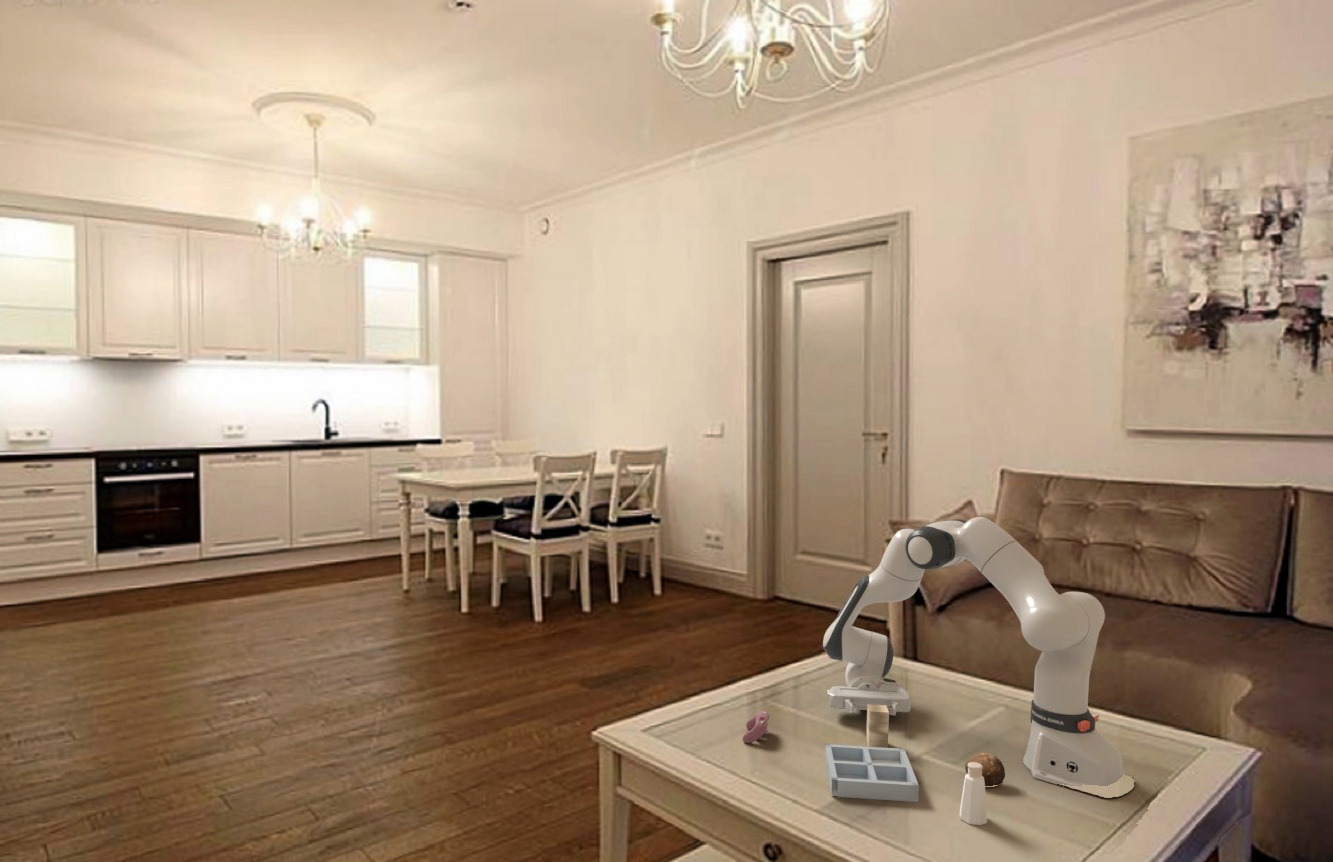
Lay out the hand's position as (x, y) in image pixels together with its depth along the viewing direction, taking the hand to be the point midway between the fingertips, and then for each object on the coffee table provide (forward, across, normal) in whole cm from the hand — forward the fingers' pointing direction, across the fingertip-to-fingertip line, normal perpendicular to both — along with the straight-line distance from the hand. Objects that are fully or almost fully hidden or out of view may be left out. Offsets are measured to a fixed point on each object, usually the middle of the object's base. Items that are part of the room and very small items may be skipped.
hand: (873, 711), depth 211 cm
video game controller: (+8, -28, +5) cm, 30 cm away
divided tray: (+27, -4, +5) cm, 28 cm away
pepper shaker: (+41, +14, +5) cm, 44 cm away
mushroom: (+25, +20, +5) cm, 32 cm away
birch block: (+9, 0, +5) cm, 10 cm away
